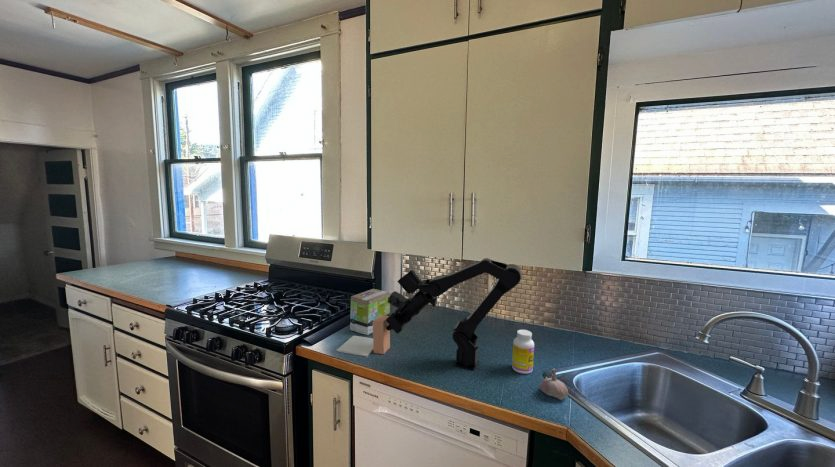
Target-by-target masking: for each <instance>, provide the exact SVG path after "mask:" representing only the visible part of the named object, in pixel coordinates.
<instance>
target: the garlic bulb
mask: <svg viewBox="0 0 835 467" xmlns="http://www.w3.org/2000/svg"><path fill="white" fill-rule="evenodd" d="M556 373H557V372H556V368H555V367H554V368H552V370H551V374H552V375H551V377H546V378H543V379H542V381H541V383H539V384H540V385H539V388H540V391H541V392H543V393H544V394H545V395H547V396H549V397H554V398H556V399H558V400H561V401H562V400H564V399H566V398H567V397H568V396H569V390H568V387H567V386H566V384H565V383H564V381H563V382H562V381H561V380H560V379H557V374H556Z"/></svg>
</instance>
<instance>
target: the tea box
mask: <svg viewBox="0 0 835 467" xmlns="http://www.w3.org/2000/svg"><path fill="white" fill-rule="evenodd" d="M390 295H391V292H390V291H386V290H381V289H377V288H376V289H375V288H371V289H369V290H365V291H363V292H359V293H357V294H354V295H351V296H350V310H349V311H350V313H349V314H350V315H349V316H350V317H349V319H350V322H349V324H350V325H349V326H350V327H349V329H350V331H352V332H356V333H358V334H363V335H365V336H369V335H371V334H373V320H374V319H376V318H377V317H378V316H379V315H384V316H390V315H391V304H389V303H388V302H387V301H388V298H389V297H390Z"/></svg>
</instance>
